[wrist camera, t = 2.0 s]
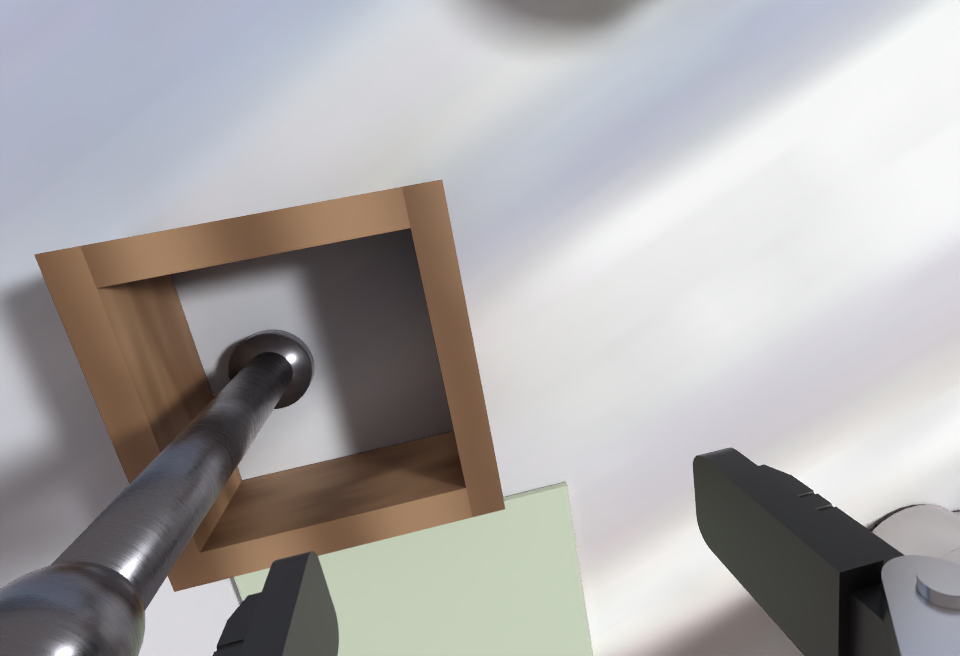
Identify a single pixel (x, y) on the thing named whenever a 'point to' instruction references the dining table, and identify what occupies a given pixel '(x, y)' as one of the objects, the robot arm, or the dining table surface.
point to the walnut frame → (185, 393)
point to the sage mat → (463, 586)
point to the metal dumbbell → (151, 517)
